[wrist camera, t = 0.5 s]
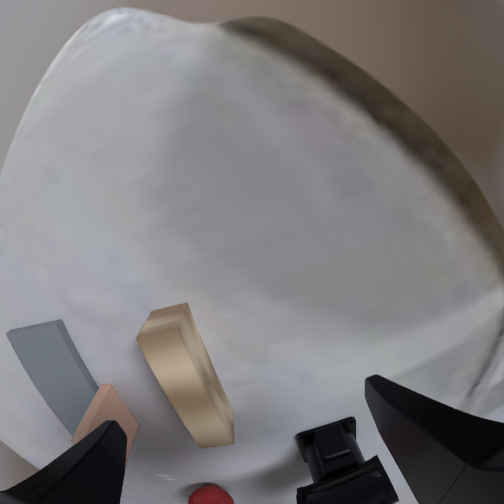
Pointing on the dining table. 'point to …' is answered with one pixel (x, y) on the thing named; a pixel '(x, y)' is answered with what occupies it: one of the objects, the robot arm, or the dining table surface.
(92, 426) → the tile
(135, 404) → the dining table surface
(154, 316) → the curved wooden plank
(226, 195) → the dining table surface
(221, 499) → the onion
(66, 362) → the mat
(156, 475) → the dining table surface
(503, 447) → the robot arm
